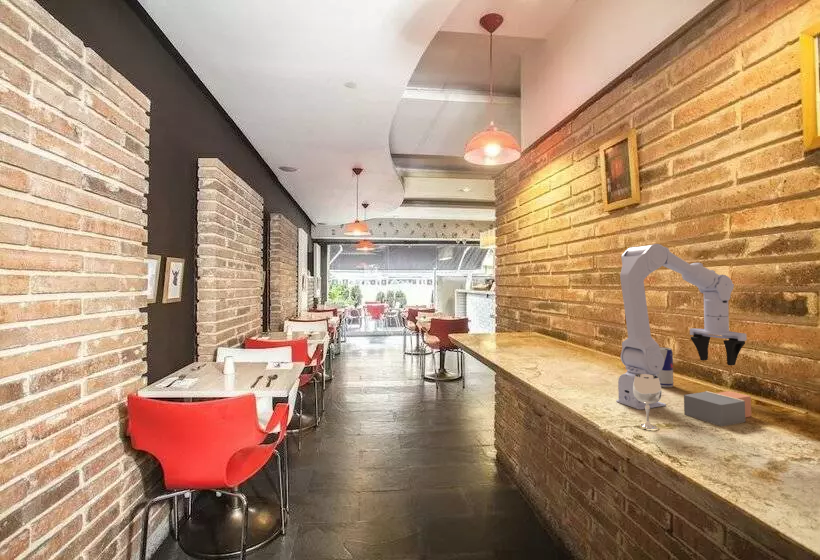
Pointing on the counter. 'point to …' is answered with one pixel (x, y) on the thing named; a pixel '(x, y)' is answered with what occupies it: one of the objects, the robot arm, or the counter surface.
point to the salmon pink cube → (741, 397)
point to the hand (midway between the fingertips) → (717, 362)
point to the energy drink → (666, 368)
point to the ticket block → (714, 408)
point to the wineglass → (647, 393)
